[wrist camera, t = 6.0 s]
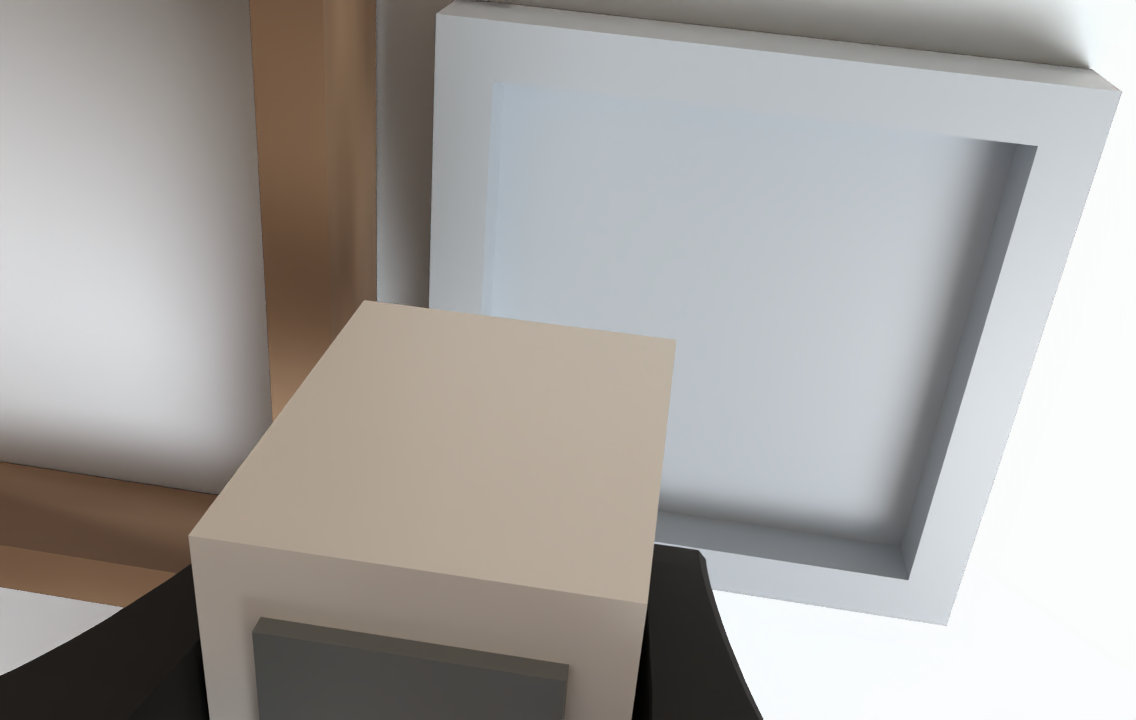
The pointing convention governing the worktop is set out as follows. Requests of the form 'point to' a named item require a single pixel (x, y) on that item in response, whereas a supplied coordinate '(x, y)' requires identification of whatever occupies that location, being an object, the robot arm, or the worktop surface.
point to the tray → (777, 267)
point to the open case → (292, 287)
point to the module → (441, 527)
